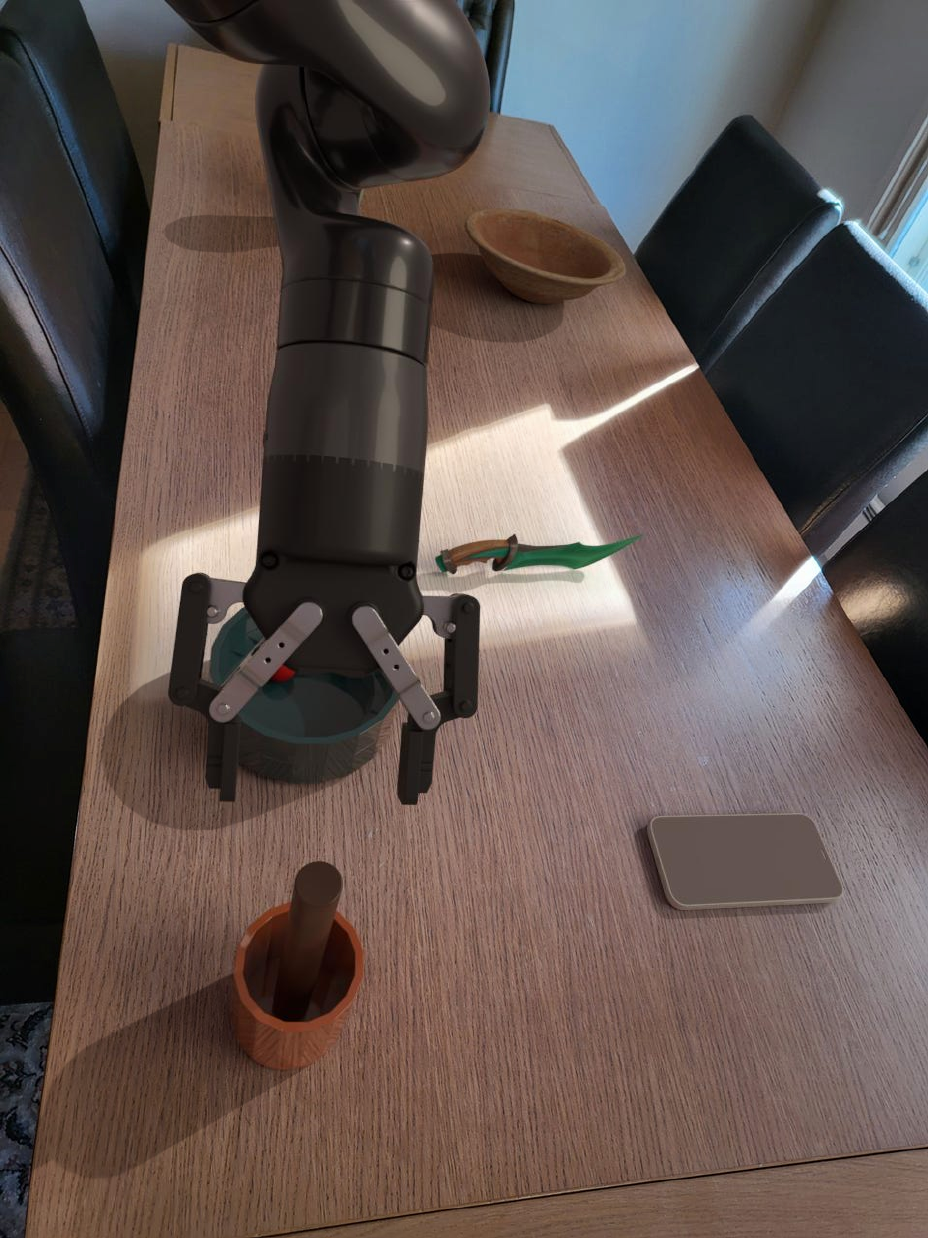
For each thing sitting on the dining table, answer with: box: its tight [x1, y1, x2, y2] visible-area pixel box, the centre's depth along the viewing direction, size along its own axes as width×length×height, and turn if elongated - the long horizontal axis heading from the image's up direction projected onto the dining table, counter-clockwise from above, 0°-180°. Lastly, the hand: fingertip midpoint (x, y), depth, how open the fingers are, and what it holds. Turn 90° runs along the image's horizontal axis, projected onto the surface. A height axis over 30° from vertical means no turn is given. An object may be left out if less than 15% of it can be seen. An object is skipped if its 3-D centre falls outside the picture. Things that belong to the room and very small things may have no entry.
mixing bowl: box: [208, 606, 400, 784], centre depth 64 cm, size 14×14×6 cm
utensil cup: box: [230, 901, 365, 1071], centre depth 48 cm, size 7×7×8 cm
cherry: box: [270, 665, 295, 682], centre depth 66 cm, size 3×3×3 cm
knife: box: [434, 533, 645, 575], centre depth 81 cm, size 21×2×5 cm, turn 105°
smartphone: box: [646, 812, 844, 911], centre depth 65 cm, size 7×1×15 cm
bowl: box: [464, 207, 627, 305], centre depth 120 cm, size 24×24×8 cm
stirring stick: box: [272, 860, 344, 1022], centre depth 44 cm, size 2×2×18 cm
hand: (320, 799), depth 40 cm, fingers open, 8 cm apart
